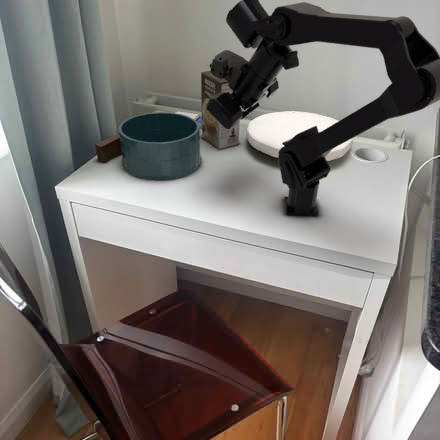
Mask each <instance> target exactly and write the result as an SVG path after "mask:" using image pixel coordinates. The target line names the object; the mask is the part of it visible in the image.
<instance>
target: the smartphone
mask: <svg viewBox="0 0 440 440" xmlns="http://www.w3.org/2000/svg"><path fill="white" fill-rule="evenodd" d="M174 113H177V114H182V115H186V116H188V117H191V118H193V119H194V120H196V121H198V120H199V119H200V114H199V113H194V112H188V111H180V110H177V111H175V112H174Z"/></svg>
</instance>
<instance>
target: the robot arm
mask: <svg viewBox="0 0 440 440" xmlns="http://www.w3.org/2000/svg"><path fill="white" fill-rule="evenodd" d="M225 23H226V24H227V25H228V27H229V28H230V30H231V31H232V33H233V34H234V35H235V37H236V38H237V40H238V41H239V42H240V43H241V45H242V46H243V48H245V49H250V48H251V49H253V50H255V51H254V53H253V54H252V55H251V57H250V59H249V60H247V59H246V58H244V57H243V56H241V55H239V54H238V53H235V52H234V51H232V50H229V49H225V50H222V51H221V52H218V53H217V54H216V55H214V58H213V59H212V60H211V62H210V63H209V68H210V70H209V71H210V72H211V74H212V75H213V76H215V77H217V78H219V79H222V78H223V79H225V80H227V81H230V83H229V84H228V86H229V87H230V88H231V89H232V92H233V93H231V94H230V93H229V92H227V93H226V92H219V93H218V94H216V95H215V96H214V97H212V98H211V99H210V100H209V101H208V103H207V105H206V109H207V110H208V111H209V112H210V113H211V114H212V115H213V116H214V117H215V118H216V120H217V121H218V122H219V123H220V124H221V125H222V126H223V127H224V128H225V129H230V128H232V127H233V126H234V125H235V124H237V123H238V121H239V120H240V121H242V120H243V119H245V118H246V117H247V116H248V115H250V113H252V112H254V111H256V109H257V108H259V107H260V101H261V100H263V99H264V98H265V97H266V98H267V100H268V99H270V98H271V97H273V96H274V95H275V94H276V92H277V91H278V90H279V88H280V87H279V81H278V78H277V76H278V75H279V74H280V72H281V71H282V70H285V71H289V70H292V69H295V68H298V67H299V66H300V60H299V58H298V53H299V52H298V50H293V49H292V48H291V47H290V46H297V45H304V44H308V43H309V44H311V43H326V44H333V45H335V44H336V45H342V46H343V45H344V46H352V47H361V48H369V49H376V50H379V52H380V53H381V55H382V57H383V62H384V67H385V70H386V75H387V77H388V79H389V81H390V82H391V83H390V84H389V85H388V86H387V87H386V88H385V89H384V91H383V92H382V93H380V95H379V96H378V97H376V98H375V99H374V100H372V101H370V102H369V103H367V104H365V105H363V106H361V107H360V108H359V109H357V110H355V111H353V112H352V113H350V114H349V115H346V116H345V117H343V118H341V119H340V120H338V122H337V123H335V124H333V125H332V126H330V127H328V128H327V129H325V130H323V131H321V132H318V128H317V126H314V127H312V128H310V129H307V130H305V131H303V132H301V133H298V134H297V135H295V136H294V137H293V138H292V139H290V140H287V141H285V142H283V143H282V144H283V145H284V147H282V148H281V149H280V150H279V152H278V153H279V156H278V158H277V159H278V164H279V170H280V177H281V182H282V184H284V185H286V186H287V188H288V193H287V196H284V198H283V201H284V203H283V204H284V212H285V214H286V215H287V216H310V217H311V216H312V217H317V216H319V208H318V204H317V198H318V192H319V187H320V181H321V180H322V179H325V178H328V176H329V174H330V172H331V171H332V168H331V166H330V164H329V161H327V160H326V159H325V157H326V156H327V155H328V154H329V152H330V151H331V150H332V149H333V148H335V147H337V146H339V145H341V144H343V143H344V142H346V141H348V140H350V139H352V138H353V139H354V138H356V137H357V136H359V135H361V134H363V133H365V132H367V131H368V130H371V129H372V128H374V127H376V126H379V125H380V124H382V123H384V122H385V121H388V120H390V119H391V120H392V119H394V118H399V117H402V116H407V115H409V114H412V113H415V112H419V111H422V110H424V109H425V108H428V107H430V106H431V105H433V104H435V103H437V102H440V53H439V52H438V50H437V49H436V48H435V46H434V45H432V43H430V41H428V40H427V39H426V38H425V37H424V35H422V33H421V32H420V31H419V30H418V27H417V26H416V24H415V22H414V21H413V20H412V19H411V18H410V17H408V16H405V15H401V16H397V17H393V16H378V15H367V14H366V15H364V14H350V13H349V14H348V13H338V12H337V13H336V12H330V11H328V10H325V9H324V8H322V7H321V6H318V5H315V4H312V3H309V2H305V1H303V2H298V3H291V4H287V5H280V6H276V8H274V10H273V12H271V15H269V14H268V12H267V11H266V9H265V8H264V6H263V5H262V4H261V2H260V0H240V1H239V2H237V3H236V4H235V5H234V6H233V7H232V8H231V9H230V10H228V12H227V15H226V17H225ZM266 92H268V93H267V94H266Z"/></svg>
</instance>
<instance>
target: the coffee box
mask: <svg viewBox="0 0 440 440" xmlns="http://www.w3.org/2000/svg"><path fill="white" fill-rule="evenodd" d="M210 71H211V70H206V71H201V73H200V84H201V85H200V86H201V87H200V90H201V91H200V92H201V93H200V94H201V98H200V99H201V108H200V109H201V111H200V112H201V113H200V114H201V118H202V128H201V138H203V139H204V140H206V142H208V143H210V144H211V145H212V146H214V147H216V148H217V149H218V150H221V149H225V148H226V149H227V148H229V147H232V146H238V145H239V142H240V126H241V125H240V123H241V120H239V121H238V123H237V124H235V125H234V126H233V127H232V128H230V129H225V128H224V127H223V126H222V125H221V124H220V123H219V122H218V121H217V120H216V118H215V117H214V116H213V115H212V114H211V113H210V112H209V111H208V110H207V109H206V105H207V103H208V101H209V100H210V99H211V98H212V97H214V96H215V95H216V94H218V93H219V92H226V93H227V92H229V93H230V94H231V93H233V92H232V89H231V88H230V87H229V86H228V84H229V83H230V81H227V80H225V79H223V78H222V79H219V78H217V77H215V76H213V75H212V74H211V72H210Z"/></svg>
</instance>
